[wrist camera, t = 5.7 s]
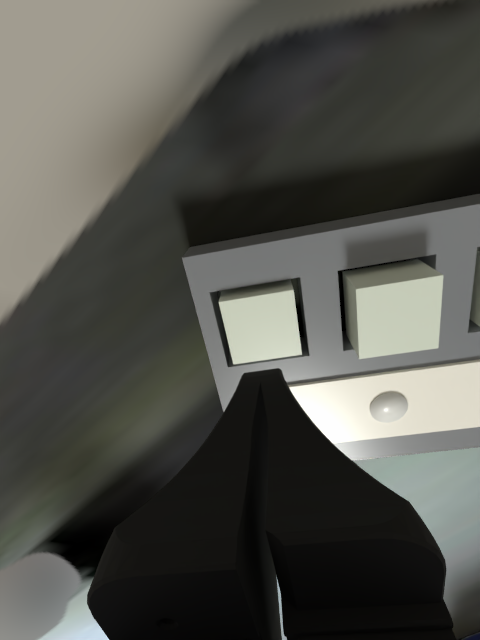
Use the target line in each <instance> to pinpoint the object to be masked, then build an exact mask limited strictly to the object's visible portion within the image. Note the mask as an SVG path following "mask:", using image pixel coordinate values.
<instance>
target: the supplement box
mask: <svg viewBox="0 0 480 640" xmlns="http://www.w3.org/2000/svg"><path fill="white" fill-rule="evenodd" d="M461 640H480V632H478V633H476V634H473V635H470V636H468V637H466V638H463V639H461Z"/></svg>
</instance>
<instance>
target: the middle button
mask: <svg viewBox="0 0 480 640" xmlns="http://www.w3.org/2000/svg"><path fill="white" fill-rule="evenodd" d="M342 274H343V289H344V305H345V321H346V335H347V337H348V339H349V341H350V342H351V344H352V346H353V348H354V350H355V352H356V354H357V356H358V358H359V359H365V358H372V357H379V356H386V355H393V354H400V353H408V352H415V351H422V350H429V349H436V348H438V347H439V333H440V318H441V304H442V290H443V275H442V274H441V273H439V272H438V271H436V270H435V269H433V268H431V267H430V266H428V265H427V264H425V263H423V262H422V261H420V260H419V259H414V260H409V261H403V262H397V263H391V264H385V265H379V266H373V267H367V268H361V269H355V270H349V271H343V272H342Z"/></svg>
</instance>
